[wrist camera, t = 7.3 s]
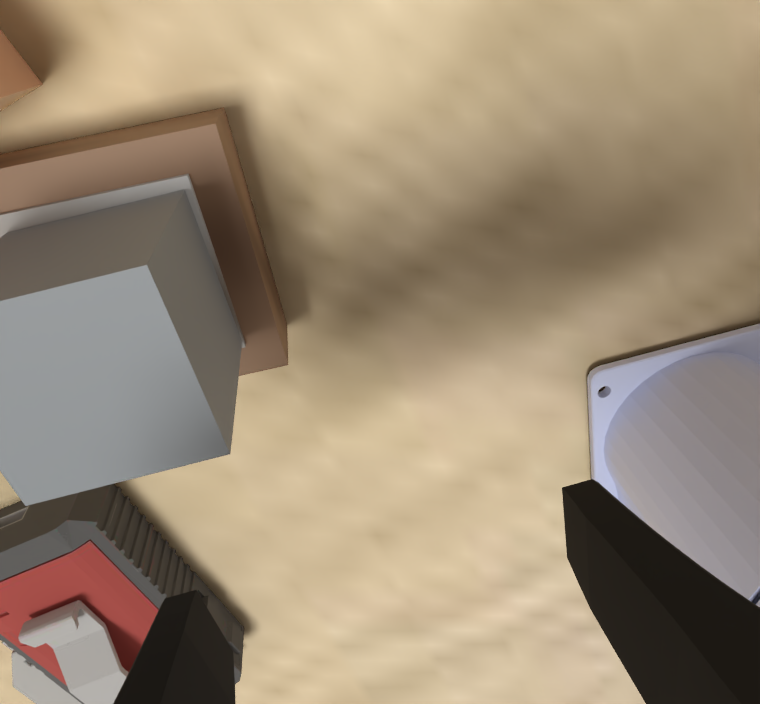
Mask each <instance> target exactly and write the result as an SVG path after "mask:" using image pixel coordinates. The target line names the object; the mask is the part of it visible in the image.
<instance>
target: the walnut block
mask: <svg viewBox="0 0 760 704" xmlns="http://www.w3.org/2000/svg"><path fill="white" fill-rule="evenodd" d="M184 189H185V192H186V194H187V197H188V200H189V202H190V205H191V208H192V210H193V213H194V215H195V218H196V221H197V223H198V226H199V229H200V231H201V234H202V237H203V239H204V242H205V245H206V247H207V250H208V253H209V255H210V258H211V260H212V263H213V266H214V268H215V271H216V274H217V276H218V279H219V282H220V284H221V287H222V290H223V292H224V295H225V298H226V300H227V303H228V305H229V308H230V311H231V313H232V316H233V319H234V321H235V324H236V327H237V329H238V332H239V335H240V337H241V340H242V348H241V358H240V367H239V376H241V375H245V374H250V373H254V372H258V371H263V370H267V369H272V368H276V367H281V366H285V365H288V340H287V323H286V319H285V316H284V312H283V309H282V306H281V302H280V299H279V295H278V292H277V288H276V285H275V281H274V278H273V274H272V271H271V267H270V264H269V261H268V257H267V254H266V250H265V247H264V243H263V240H262V236H261V233H260V229H259V226H258V223H257V219H256V216H255V212H254V209H253V205H252V202H251V198H250V195H249V191H248V188H247V185H246V181H245V178H244V174H243V171H242V167H241V164H240V160H239V157H238V153H237V150H236V147H235V143H234V140H233V136H232V133H231V129H230V126H229V122H228V119H227V115H226V112H225V109H224V108H219V109H215V110H210V111H205V112H200V113H195V114H191V115H186V116H181V117H176V118H171V119H167V120H162V121H157V122H152V123H147V124H143V125H138V126H133V127H128V128H123V129H119V130H114V131H109V132H104V133H99V134H95V135H90V136H85V137H80V138H75V139H71V140H66V141H61V142H56V143H51V144H47V145H42V146H37V147H32V148H27V149H23V150H18V151H13V152H8V153H3V154H0V238H1V237H2V236H3V235H4V234H6V233H8V232H12V231H16V230H20V229H24V228H28V227H32V226H36V225H41V224H45V223H49V222H53V221H57V220H61V219H65V218H69V217H73V216H77V215H81V214H86V213H90V212H94V211H98V210H102V209H106V208H110V207H114V206H118V205H122V204H126V203H130V202H135V201H139V200H143V199H147V198H151V197H155V196H159V195H163V194H167V193H171V192H175V191H180V190H184Z"/></svg>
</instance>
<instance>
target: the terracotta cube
mask: <svg viewBox="0 0 760 704" xmlns="http://www.w3.org/2000/svg"><path fill="white" fill-rule="evenodd" d="M41 85H42V83H41V81H40V80H39V79H38V78H37V76H36V75H35V74H34V72H33V71H32V70H31V68H30V67H29V66H28V64H27V63H26V62H25V61H24V59H23V58H22V57H21V55H20V54H19V53H18V51H17V50H16V49H15V48H14V46H13V45H12V44H11V42H10V41H9V40H8V38H7V37H6V36H5V35H4V33H3V32H2V31H1V29H0V111H2V110H3V109H5V108H6V107H8V106H9V105H11V104H13V103H14V102H16V101H17V100H19V99H20V98H22V97H24V96H25V95H27V94H28V93H30V92H31V91H33V90H35V89H36V88H38V87H39V86H41Z"/></svg>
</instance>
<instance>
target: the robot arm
mask: <svg viewBox="0 0 760 704" xmlns="http://www.w3.org/2000/svg"><path fill="white" fill-rule="evenodd" d="M587 386H588V409H589V433H590V456H591V480H588V481H584V482H581V483H577V484H574V485H570V486H566V487H563V488H562V493H563V506H564V520H565V533H566V547H567V558H568V560H569V562H570V565H571V567H572V569H573V571H574V574H575V576H576V578H577V580H578V583H579V585H580V587H581V589H582V591H583V594H584V596H585V598H586V600H587V602H588V604H589V607H590V609H591V610H592V612H593V614H594V616H595V617H596V619H597V621H598V623H599V624H600V626H601V628H602V629H603V631H604V633H605V635H606V636H607V638H608V640H609V641H610V643H611V645H612V647H613V648H614V650H615V652H616V653H617V655H618V657H619V659H620V660H621V662H622V664H623V665H624V667H625V669H626V670H627V672H628V674H629V676H630V677H631V679H632V681H633V682H634V684H635V686H636V687H637V689H638V691H639V693H640V694H641V696H642V698H643V699H644V701H645V703H646V704H760V324H756V325H752V326H748V327H744V328H741V329H737V330H733V331H729V332H725V333H722V334H718V335H714V336H710V337H706V338H703V339H699V340H695V341H691V342H688V343H684V344H680V345H676V346H672V347H669V348H665V349H661V350H657V351H653V352H650V353H646V354H642V355H638V356H634V357H631V358H627V359H623V360H619V361H615V362H612V363H608V364H604V365H600V366H598V367H595V368H594V369H593V370H592V371H590V373H589V375H588V378H587ZM604 386H606V388H605V389H604V390H603V391H601V392H598V391H599V389H600V388H602V387H604ZM113 704H235V677H234V657H233V650H232V649H231V647H230V645H229V644H228V642H227V640H226V638H225V637H224V635H223V633H222V632H221V630H220V628H219V627H218V625H217V623H216V622H215V620H214V618H213V617H212V615H211V613H210V612H209V610H208V608H207V607H206V605H205V603H204V602H203V600H202V598H201V597H200V595H199V593H198V592H197V590H193V591H190V592H186V593H183V594H179V595H175V596H172V597H168V598H165V599H164V601H163V602H162V604H161V606H160V608H159V610H158V612H157V615H156V617H155V619H154V621H153V623H152V625H151V627H150V629H149V631H148V634H147V636H146V638H145V640H144V642H143V644H142V646H141V648H140V650H139V652H138V655H137V657H136V659H135V661H134V663H133V665H132V667H131V669H130V671H129V673H128V675H127V677H126V679H125V681H124V683H123V685H122V687H121V689H120V691H119V693H118V695H117V697H116V699H115V701H114V703H113Z"/></svg>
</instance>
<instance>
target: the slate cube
mask: <svg viewBox="0 0 760 704" xmlns="http://www.w3.org/2000/svg"><path fill="white" fill-rule="evenodd" d="M241 348H242V340H241V337H240V335H239V332H238V329H237V327H236V324H235V321H234V319H233V316H232V313H231V311H230V308H229V305H228V303H227V300H226V298H225V295H224V292H223V290H222V287H221V284H220V282H219V279H218V276H217V274H216V271H215V268H214V266H213V263H212V260H211V258H210V255H209V253H208V250H207V247H206V245H205V242H204V239H203V237H202V234H201V231H200V229H199V226H198V223H197V221H196V218H195V215H194V213H193V210H192V208H191V205H190V202H189V200H188V197H187V194H186V192H185V189H184V190H180V191H175V192H171V193H167V194H163V195H159V196H155V197H151V198H147V199H143V200H139V201H135V202H130V203H126V204H122V205H118V206H114V207H110V208H106V209H102V210H98V211H94V212H90V213H86V214H81V215H77V216H73V217H69V218H65V219H61V220H57V221H53V222H49V223H45V224H41V225H36V226H32V227H28V228H24V229H20V230H16V231H12V232H8V233H6V234H4V235H3V236H2V237H1V238H0V471H1V473H2V474H3V476H4V477H5V478H6V480H7V481H8V482H9V484H10V485H11V487H12V488H13V489H14V491H15V492H16V494H17V495H18V496H19V498H20V499H21V501H22V502H23V503H24V505H25V506H28V505H31V504H35V503H39V502H43V501H47V500H51V499H55V498H59V497H63V496H67V495H71V494H75V493H79V492H83V491H87V490H90V489H94V488H98V487H102V486H106V485H110V484H114V483H118V482H122V481H126V480H130V479H134V478H138V477H142V476H145V475H149V474H153V473H157V472H161V471H165V470H169V469H173V468H177V467H181V466H185V465H189V464H193V463H197V462H200V461H204V460H208V459H212V458H216V457H220V456H224V455H228V454H230V451H231V442H232V433H233V423H234V414H235V404H236V395H237V386H238V376H239V367H240V358H241Z"/></svg>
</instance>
